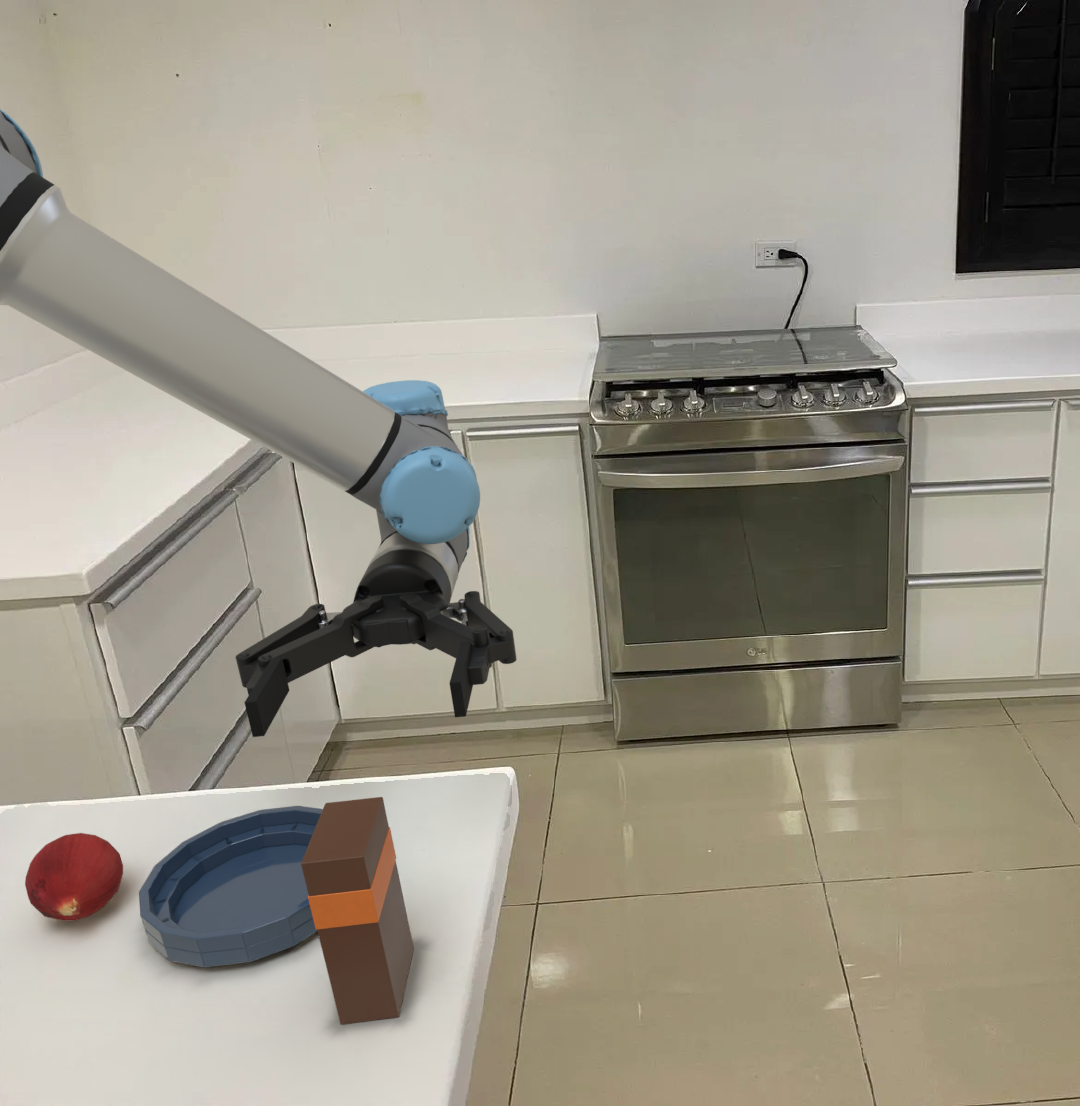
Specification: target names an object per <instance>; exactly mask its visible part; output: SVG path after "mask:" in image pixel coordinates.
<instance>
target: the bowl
mask: <svg viewBox="0 0 1080 1106" xmlns="http://www.w3.org/2000/svg"><path fill="white" fill-rule="evenodd" d="M322 810H323V808H317V807H311V806H303V805H291V806H283V807H281V806H280V807H273V808H263V809H258V810H255V811H251V812H248V813H244V814H242V815H239V816H236V817H233V818H229V819H226V820H223V821H220V822H217V823H216V824H214V825H212V826H210V827H208V828H207V829H204V830H203V831H200V832H198V833H197V834H195V835H193V836H191V837H189V838H187V839H185V840H184V841H182V842H180V843H179V845H177V846H176V847H175V848H174V849H172V850H171V851H170V852H169V853H168V854H167V855H165V856H164V857H163V858H162V859H160V860H159V861H158V862H156V863H155V865H154V866H153V867H152V869H151V871H150V872H149V874H148V875H147V878H146V879H145V881H144V882H143V884H142V886H141V888H140V889H139V891H138V901H139V902H138V903H139V915H140V919H141V923H142V926H143V928H144V932H145V935H146V938H147V941H148V943H149V944H150V945H151V946H152V947H153V948H154V949H155V950H156V951H157V952H159V953H160V954H161V955H162V956H163V957H165V958H166V960H168V961H170V962H172V963H173V962H174V963H179V964H185V965H190V966H195V967H201V968H212V967H219V966H228V965H235V964H245V963H251V962H255V961H257V960H259V959H262V958H265V957H268V956H271V955H273V954H277V953H279V952H282V951H284V950H287V949H289V948H292V947H295V946H297V945H298V944H299V943H302V942H303V941H305V940H306V939H307V938H309V937H310V936H313V935H314V934H315V933H318V931H317V930H316V928H315V924H314V920H313V916H312V912H311V908H310V904H309V900H308V895H309V894H308V890H307V886H306V882H305V878H304V874H303V870H302V866H301V862H302V860H303V857H304V855H305V852H306V850H307V848H308V845H309V843H310V840H311V838H312V835H313V833H314V830H315V828H316V825H317V823H318V820H319V818H320V815H321V813H322Z"/></svg>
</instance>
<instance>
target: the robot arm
mask: <svg viewBox="0 0 1080 1106" xmlns="http://www.w3.org/2000/svg"><path fill="white" fill-rule="evenodd" d="M42 167H43V166H42V164H41V160H40V157H39V154H38V153H37V150H36V148H35V146H34V144H33V143H32V141H31V139H30V138H29V136H28V135H27V133H26V132H25V131H24V129H23V128H22V127H21V126H20V125H19V124H18V123H17V122H16V121H15V120H14V118H13V117H11V116H10V115H9V114H8V113H7V112H5V111H4V110H2V109H1V108H0V306H8V307H10V308H12V309H14V310H16V311H17V312H19V313H21V314H22V315H24V316H26V317H28V318H30V319H32V320H33V321H36V322H37V323H38V324H41V325H43V326H45V327H46V328H48V329H50V330H52V331H54V332H55V333H57V334H59V335H61V336H63V337H64V338H66V339H68V340H70V341H72V342H73V343H74V344H77V345H79V346H81V347H83V348H85V349H86V350H88V351H90V352H91V353H94V354H95V355H97V356H99V357H100V358H103V359H105V360H106V361H108V362H110V363H112V364H113V365H115V366H117V367H119V368H121V369H123V370H124V371H125V372H128V373H129V374H132V375H133V376H135V377H136V378H139V379H141V380H143V381H144V382H146V383H148V384H149V385H151V386H153V387H155V388H157V389H158V390H161V391H163V393H166V394H168V395H169V396H171V397H173V398H175V399H177V400H179V401H181V402H182V403H184V404H186V405H188V406H189V407H191V408H193V409H194V410H197V411H198V412H201V413H202V414H204V415H206V416H208V417H210V418H211V419H214V420H215V421H216V422H218V423H220V424H222V425H224V426H225V427H227V428H230V429H231V430H233V431H235V432H237V433H239V434H240V435H242V436H244V437H246V438H247V439H250V440H251V441H253V442H255V443H256V444H258V445H261V446H262V447H264V448H266V449H268V450H269V451H271V452H273V453H275V454H276V455H278V456H280V457H281V458H284V459H286V460H288V461H289V462H291V463H293V464H295V465H297V466H298V467H300V468H302V469H304V470H305V471H307V472H308V473H311V474H313V475H315V476H316V477H318V478H320V479H322V480H323V481H325V482H327V483H329V484H330V485H332V486H334V487H336V488H338V489H339V490H342V491H343V492H345V493H346V494H349V495H350V496H351V497H353V498H354V499H356V500H358V501H360V502H362V503H364V504H366V505H368V506H369V507H371V508H372V509H374V510H375V511H376V518H377V523H378V528H379V535H380V544H379V546H378V547H377V550H376V551H375V553H374V554H373V557H372V558H371V560H370V561H369V564H368V565H367V567H366V570H365V572H364V574H363V575H362V577H361V579H360V582H359V583H358V585H357V587H356V591H355V593H354V598H353V601H352V603H351V604H348V605H346V607H345V608H343V610H342V611H338V612H337V611H336V612H327V611H326V607H325V605H324V604H322V603H314V604H312V605H310V606H308V608H307V609H306V610H305V611H304V613H302V615H301V616H299V617H297V618H295V619H294V620H293V621H291V622H289V623H287V624H286V625H284V626H283V627H281V628H279V629H277V630H276V631H273V632H272V633H271V634H270V635H267V636H266V637H264V638H263V639H260V640H259V641H257V642H256V643H254V644H252V645H251V646H248V648H246V649H244V650H243V651H241V652H238V653H237V654H236V655H235V661H236V665H237V669H238V670H237V671H238V674H239V678H240V682H241V685H242V687H243V688H245V689H246V691H247V694H248V695H247V697H246V699H245V701H244V706H245V710H246V711H245V712H246V715H247V719H248V722H249V727H250V731H251V735H252V738H259V737H265V735H267V734H266V733H267V732H268V730H269V728H270V727H271V725H272V723H273V721H274V719H275V717H276V715H277V714H278V712H279V710H280V708H281V707H282V705H283V704H284V701H285V699H286V698H287V696H288V694H289V692H290V686H289V683H291V682H294V681H295V680H297V679H299V678H301V677H304V676H305V675H307V674H310V673H312V672H314V671H315V670H318V669H320V668H322V667H324V666H326V665H328V664H330V663H332V662H334V661H336V660H338V659H340V658H342V657H348V658H355V657H357V656H359V655H361V654H363V653H365V652H367V651H370V650H371V649H373V648H381V647H384V646H390V645H397V646H400V645H411V644H412V645H416V644H417V645H419V646H420V647H422V648H424V649H427V650H429V651H433V650H435V649H437V650H439V651H440V652H443V653H444V654H446V655H448V656H450V657H452V658H454V659H455V662H454V665H453V668H452V671H451V672H452V673H451V676H450V680H449V683H448V684H449V689H450V695H451V701H452V709H453V715H454V718H464V717H467V714H468V709H469V705H470V701H471V696H472V691H473V687H474V686H478V685H479V686H480V685H484V684H486V683H487V681H488V677H489V674H490V673H489V672H490V669H491V668H492V666H493V664H494V663H496V662H500V664H503V665H510V664H511V665H512V664H514V663H515V662H517V659H518V658H517V652H516V644H515V637H514V630H513V629H512V628H510V626H508V625H507V624H506V623H505V622H504V621H503V620H502V619H501V618H499V616H498V615H496V614H495V613H494V612H493V611H491V609H489V608H488V607H487V606H486V605H485V604H484V603H483V602H482V600H481V594H480V592H479V591H478V590H470V591H467V592H466V593H464V598H460V599H458V601H457V602H456V601H455V602H451V600H452V596H453V593H454V590H455V587H456V585H457V581H458V579H459V573H460V570H461V567H462V565H463V563H464V562H465V559H466V557H467V555H468V550H469V549H470V544H471V543H470V532H471V531H470V526H471V525H472V524H473V523H474V521H475V519H476V516H477V514H478V513H479V509H480V504H481V491H480V485H479V482H478V479H477V474H476V471H475V468H474V466H473V465H472V464H471V463H470V461H469V460H468V458H467V457H466V456H464V455H463V453H462V452H461V450H460V449H459V447H458V445H457V444H456V442H455V440H454V439H453V437H452V436H451V434H450V431H449V425H448V416H449V413H448V410H447V409H446V407H445V402H444V396H443V391H442V390H441V388H440V386H438V384H436V383H433V382H431V381H427V380H421V379H420V380H418V379H417V380H416V379H409V380H396V381H388V382H384V383H379V384H375V385H372V386H370V387H367V388H365V389H364V390H361V389H360V388H358V387H356V386H355V385H353V384H351V383H349V382H348V381H346V380H345V379H343V378H342V377H340V376H338V375H337V374H335V373H333V372H332V371H330V370H328V369H327V368H325V367H323V366H322V365H320V364H318V363H317V362H315V361H314V360H312V359H311V358H310V357H307V356H306V355H304V354H303V353H300V352H299V351H298V350H296V349H295V348H293V347H291V346H289V345H288V344H286V343H284V342H283V341H281V340H279V339H278V338H277V337H274V336H273V335H272V334H270V333H268V332H267V331H265V330H263V329H261V328H260V327H259V326H257V325H255V324H254V323H251V322H250V321H249V320H247V319H245V318H243V317H242V316H241V315H239V314H237V313H235V312H234V311H232V310H231V309H229V308H227V307H226V306H224V305H223V304H220V302H217V301H216V300H215V299H213V298H211V297H209V296H208V295H206V294H204V293H203V292H201V291H199V290H198V289H196V288H194V287H193V286H192V285H190V284H188V283H187V282H185V281H183V280H182V279H180V278H178V277H177V276H175V275H173V274H172V273H170V272H168V271H167V270H166V269H163V268H162V267H161V266H159V265H157V264H155V263H154V262H152V261H151V260H149V259H147V258H146V257H144V256H143V255H141V254H139V253H138V252H136V251H134V250H133V249H131V248H129V247H128V246H127V245H124V244H123V243H121V242H119V241H118V240H117V239H115V238H113V237H111V236H110V235H108V234H107V233H105V232H104V231H102V230H100V229H98V228H97V227H96V226H93V225H92V224H91V223H89V222H88V221H85V219H82V218H80V217H78V216H77V215H76V214H74V213H72V212H71V211H70V209H69V207H68V206H67V203H66V200H65V197H64V194H63V191H62V189H61V188H60V187H59V186H57V185H56V184H55V183H53V182H51V181H49V180H48V179H46V178H44V172H43V168H42ZM355 639H356V640H357V641H355Z"/></svg>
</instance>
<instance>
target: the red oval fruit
mask: <svg viewBox="0 0 1080 1106" xmlns="http://www.w3.org/2000/svg"><path fill="white" fill-rule="evenodd" d="M123 874H124V863H123V860H122V856H121V854H120V852H119V851H118V850H117V849H116V848H115V847H114V846H113V845H112V844H111V843H110V842H109V841H108V840H106V839H104V838H102V837H101V836H98V835H96V834H91V833H84V832H77V833H76V832H75V833H70V834H65V835H62V836H60V837H58V838H56V839H53V840H52V841H50V842H48V843H46V844H45V845H44V846H43V847H42V848H40V850H38V852H37V853H36V854H35V855H34V857H33V858H32V860H31V862H30V863H29V866H28V869H27V872H26V875H25V881H24V885H25V889H26V893H27V898H28V901H29V903H30V904H31V905H32V906H33V907H34V908H35V909H36V910H37V911H38V912H39V913H40V914H41V915H42V916H43V917H44V918H45V917H46V918H49V919H54V920H59V921H69V922H70V921H78V920H81V919H86V918H89V917H91V916H92V915H93V914H94V915H95V914H96V913H97V912H98V911H100V910H102V909H103V908H104V907H106V905H107V904H108V903H109V902H110V901H111V900H112V898H113V897H114V896H115V895H116V894H117V893H118V892H119V890H120V886H121V882H122V879H123Z"/></svg>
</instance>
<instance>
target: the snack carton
mask: <svg viewBox="0 0 1080 1106" xmlns="http://www.w3.org/2000/svg"><path fill="white" fill-rule="evenodd" d="M322 809H323V810H322V813H321V815H320V818H319V820H318V823H317V825H316V828H315V830H314V833H313V835H312V838H311V840H310V843H309V845H308V848H307V850H306V852H305V855H304V857H303V860H302V862H301V866H302V870H303V874H304V878H305V882H306V886H307V890H308V894H309V895H308V900H309V904H310V908H311V912H312V916H313V920H314V924H315V928H316V930H317V934H318V939H319V942H320V947H321V950H322V951H321V952H322V955H323V959H324V963H325V967H326V971H327V975H328V979H329V983H330V988H331V991H332V997H333V999H334V1003H335V1008H336V1012H337V1016H338V1020H339V1023H340V1025H347V1024H354V1023H361V1022H362V1023H363V1022H369V1021H379V1020H385V1019H393V1018H399V1017H400V1012H401V1008H402V1003H403V999H404V995H405V990H406V985H407V981H408V976H409V971H410V968H411V963H412V958H413V955H414V949H415V947H414V942H413V937H412V932H411V927H410V923H409V919H408V918H409V917H408V914H407V913H408V912H407V908H406V903H405V900H404V893H403V889H402V884H401V879H400V874H399V870H398V869H399V868H398V865H397V855H396V850H395V845H394V840H393V835H392V830H391V827H390V826H389V825H390V824H389V821H388V815H387V811H386V807H385V801H384V797H383V796H377V797H368V798H358V799H349V800H341V801H332V802H325V803H324V805H323V808H322Z"/></svg>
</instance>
